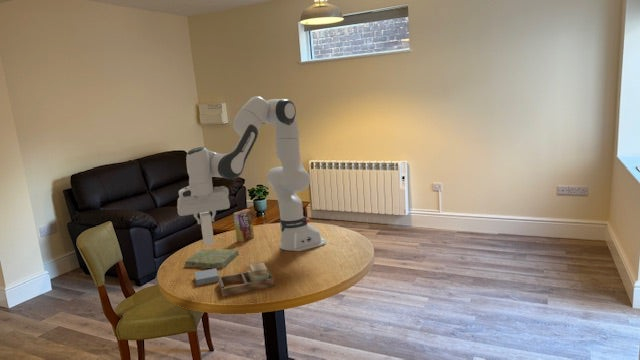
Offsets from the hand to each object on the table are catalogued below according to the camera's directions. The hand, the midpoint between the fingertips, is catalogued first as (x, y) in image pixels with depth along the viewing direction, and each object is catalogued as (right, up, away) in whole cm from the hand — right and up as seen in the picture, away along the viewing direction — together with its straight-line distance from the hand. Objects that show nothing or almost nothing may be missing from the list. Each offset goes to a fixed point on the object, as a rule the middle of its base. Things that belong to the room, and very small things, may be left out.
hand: (206, 222), depth 182 cm
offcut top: (+21, -20, 0) cm, 29 cm away
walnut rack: (+16, -25, -2) cm, 29 cm away
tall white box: (+1, -8, +1) cm, 8 cm away
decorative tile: (-5, -21, +29) cm, 36 cm away
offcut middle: (+21, -22, 0) cm, 31 cm away
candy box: (+6, -14, +58) cm, 61 cm away
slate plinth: (-1, -24, +7) cm, 25 cm away
